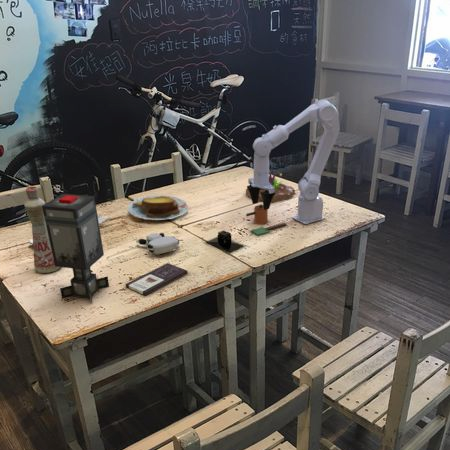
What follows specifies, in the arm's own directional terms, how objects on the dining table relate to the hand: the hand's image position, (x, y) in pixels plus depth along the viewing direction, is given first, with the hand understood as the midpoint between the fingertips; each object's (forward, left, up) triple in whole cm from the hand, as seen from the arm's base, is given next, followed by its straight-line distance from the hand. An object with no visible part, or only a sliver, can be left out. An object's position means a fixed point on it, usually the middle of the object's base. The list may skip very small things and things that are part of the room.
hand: (260, 206), depth 197 cm
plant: (-21, -24, -6) cm, 32 cm away
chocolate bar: (+54, +21, -6) cm, 59 cm away
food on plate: (+29, -33, -7) cm, 44 cm away
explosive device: (+76, +16, -7) cm, 78 cm away
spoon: (+67, -31, -7) cm, 74 cm away
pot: (+2, 0, -6) cm, 7 cm away
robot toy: (+44, 0, -7) cm, 44 cm away
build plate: (+23, +10, -7) cm, 26 cm away
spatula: (+2, +8, -6) cm, 11 cm away
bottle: (+81, -7, -7) cm, 81 cm away
